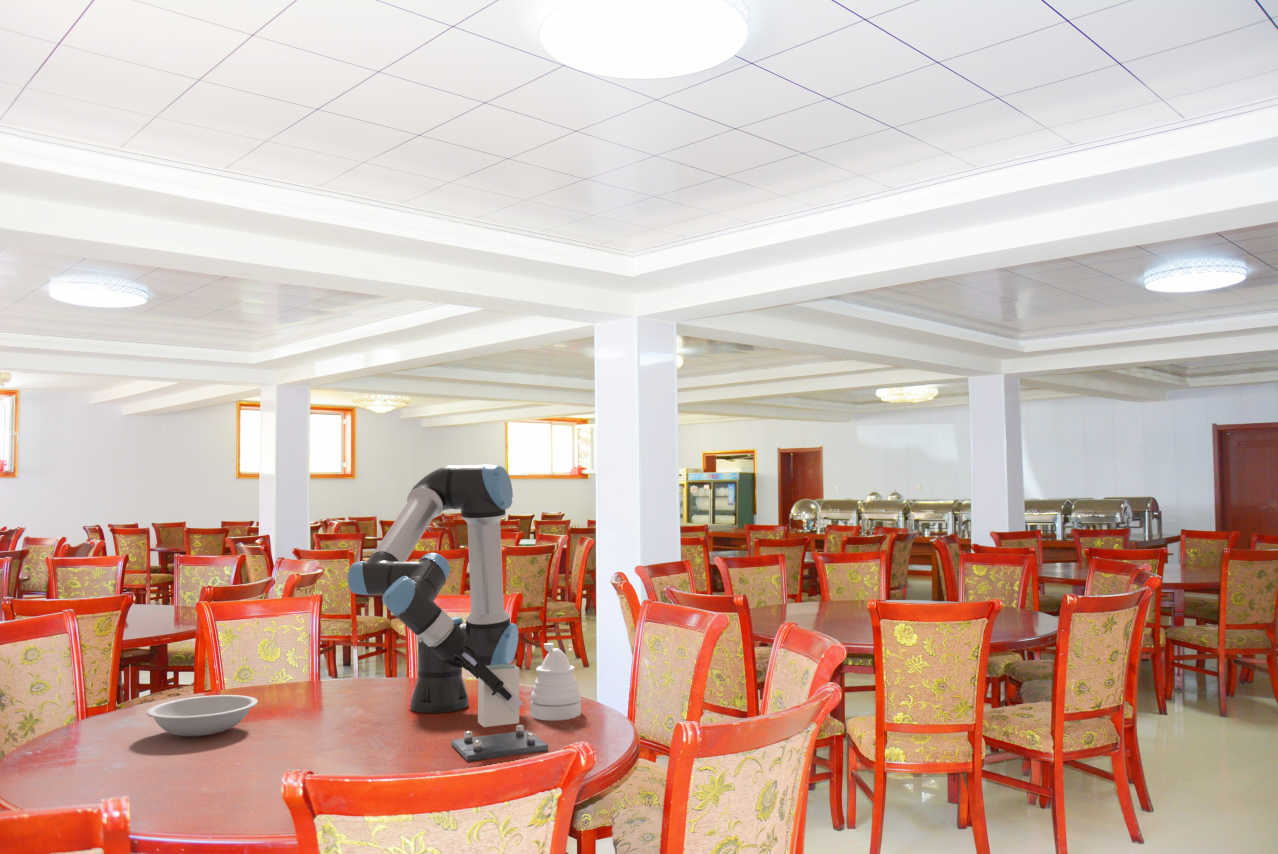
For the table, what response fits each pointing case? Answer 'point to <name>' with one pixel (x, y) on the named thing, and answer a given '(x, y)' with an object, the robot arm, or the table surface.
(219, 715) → the soup bowl
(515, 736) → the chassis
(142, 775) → the table surface
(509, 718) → the block
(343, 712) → the table surface
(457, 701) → the robot arm
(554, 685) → the honey pot
